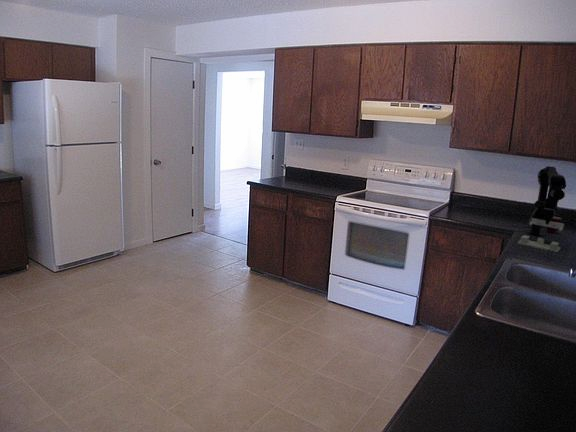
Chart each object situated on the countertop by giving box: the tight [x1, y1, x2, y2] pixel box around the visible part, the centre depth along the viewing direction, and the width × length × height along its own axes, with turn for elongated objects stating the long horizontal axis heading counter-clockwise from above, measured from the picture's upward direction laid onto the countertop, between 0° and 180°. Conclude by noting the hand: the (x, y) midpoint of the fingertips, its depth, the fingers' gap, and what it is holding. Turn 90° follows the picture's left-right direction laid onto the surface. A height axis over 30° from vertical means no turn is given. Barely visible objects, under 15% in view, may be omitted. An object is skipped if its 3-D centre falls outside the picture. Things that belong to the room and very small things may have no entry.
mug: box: [545, 216, 563, 234], centre depth 299 cm, size 10×8×10 cm
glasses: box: [528, 218, 565, 232], centre depth 265 cm, size 9×16×3 cm, turn 53°
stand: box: [517, 234, 562, 253], centre depth 261 cm, size 11×20×4 cm, turn 52°
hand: (547, 224), depth 267 cm, fingers closed on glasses, 2 cm apart
